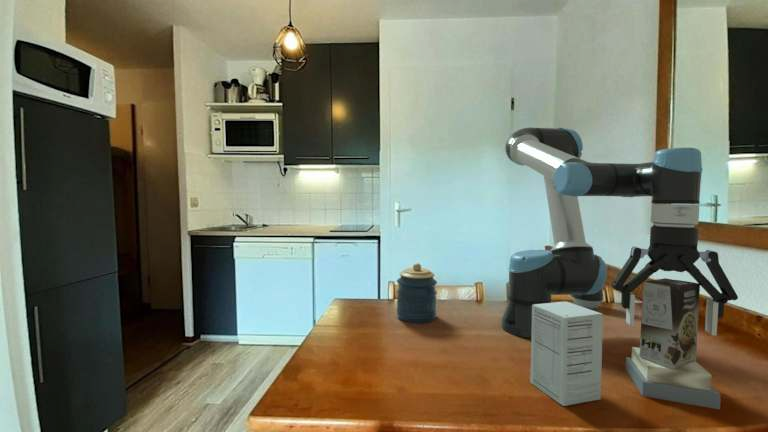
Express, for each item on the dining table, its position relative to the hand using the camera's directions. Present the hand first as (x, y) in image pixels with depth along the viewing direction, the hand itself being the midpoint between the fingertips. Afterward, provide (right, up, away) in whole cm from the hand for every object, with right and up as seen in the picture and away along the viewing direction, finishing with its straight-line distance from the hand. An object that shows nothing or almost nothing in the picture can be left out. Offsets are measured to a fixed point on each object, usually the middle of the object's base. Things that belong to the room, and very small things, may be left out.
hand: (668, 328), depth 73 cm
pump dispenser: (+15, -10, +56) cm, 59 cm away
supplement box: (-22, -12, -2) cm, 26 cm away
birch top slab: (0, -9, 0) cm, 9 cm away
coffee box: (0, -7, 0) cm, 7 cm away
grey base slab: (0, -13, 0) cm, 13 cm away
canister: (-48, -10, +43) cm, 65 cm away
